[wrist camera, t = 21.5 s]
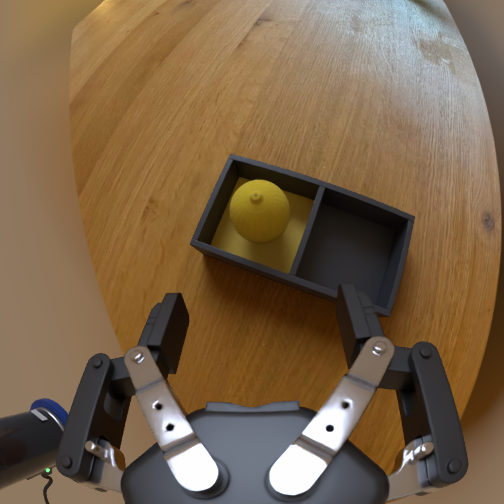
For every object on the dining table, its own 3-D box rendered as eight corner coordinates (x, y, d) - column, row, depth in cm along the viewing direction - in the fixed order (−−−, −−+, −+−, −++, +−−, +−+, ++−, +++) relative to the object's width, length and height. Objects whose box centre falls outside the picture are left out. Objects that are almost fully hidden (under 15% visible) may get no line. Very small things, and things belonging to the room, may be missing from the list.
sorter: (375, 316, 27) (390, 317, 23) (202, 253, 31) (189, 244, 26) (399, 229, 29) (415, 216, 24) (237, 173, 32) (230, 153, 28)
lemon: (300, 226, 29) (305, 196, 21) (261, 262, 29) (252, 243, 21) (265, 191, 30) (258, 153, 23) (227, 224, 30) (207, 195, 22)
